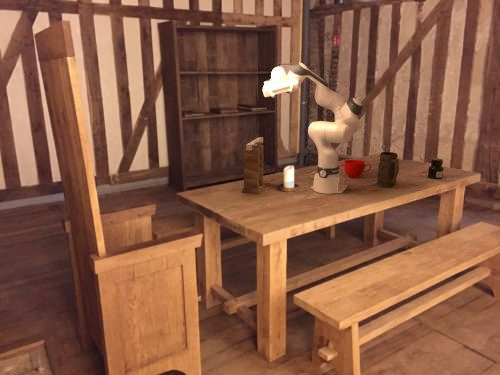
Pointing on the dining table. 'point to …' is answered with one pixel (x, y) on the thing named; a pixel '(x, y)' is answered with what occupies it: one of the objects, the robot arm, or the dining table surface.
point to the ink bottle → (436, 169)
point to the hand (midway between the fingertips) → (282, 94)
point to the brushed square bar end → (254, 143)
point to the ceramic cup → (355, 168)
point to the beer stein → (387, 170)
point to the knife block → (253, 169)
